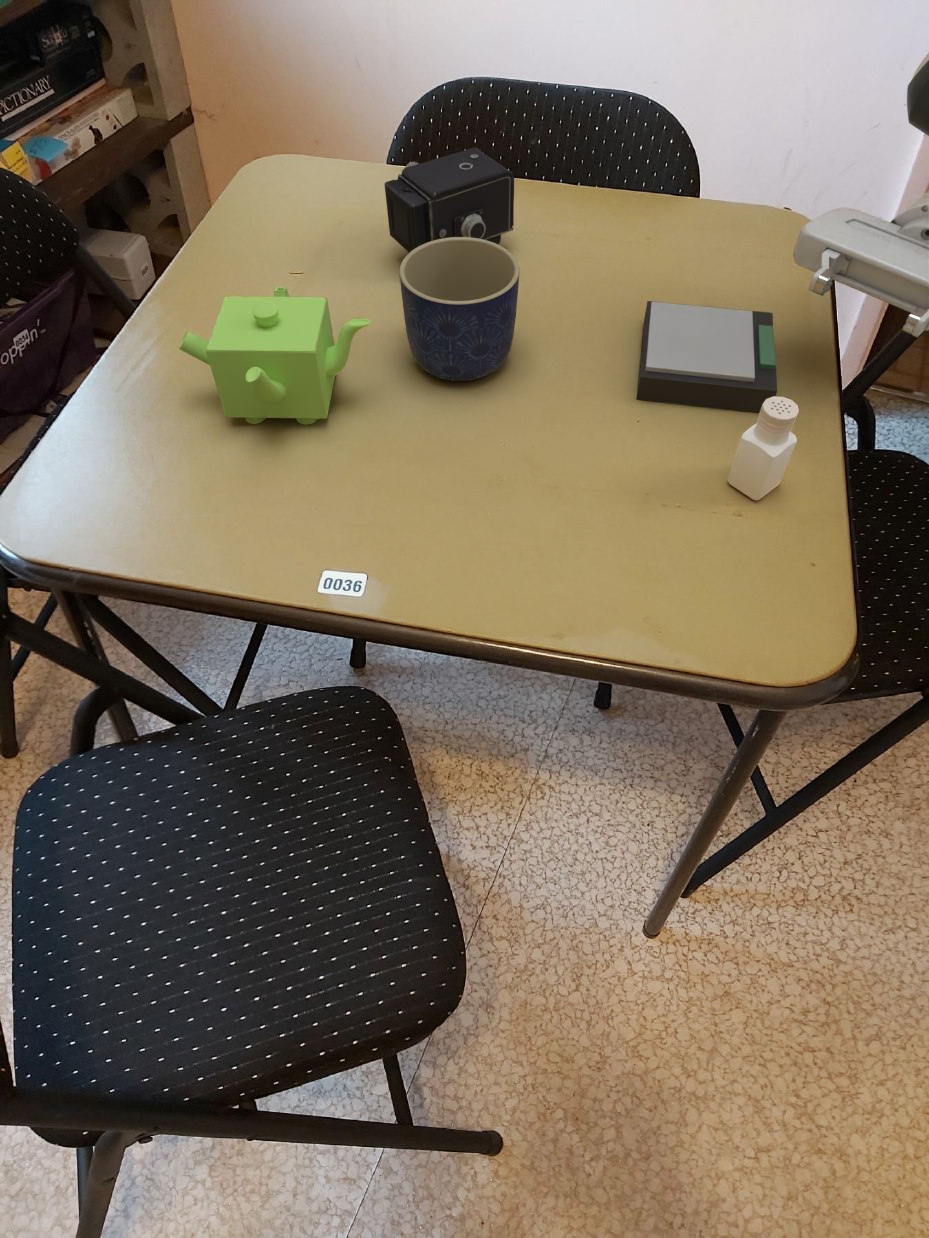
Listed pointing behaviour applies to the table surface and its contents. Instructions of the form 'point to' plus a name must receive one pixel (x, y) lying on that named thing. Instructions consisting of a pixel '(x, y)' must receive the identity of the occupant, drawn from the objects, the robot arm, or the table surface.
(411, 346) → the planter
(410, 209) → the camera
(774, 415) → the pepper shaker
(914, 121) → the robot arm
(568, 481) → the table surface
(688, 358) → the scale
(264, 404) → the kettle
